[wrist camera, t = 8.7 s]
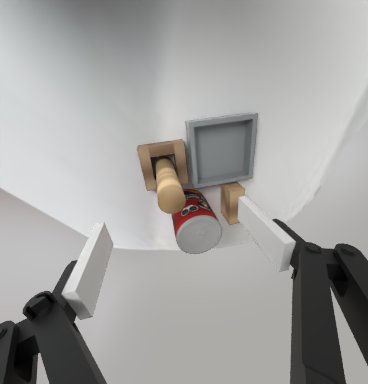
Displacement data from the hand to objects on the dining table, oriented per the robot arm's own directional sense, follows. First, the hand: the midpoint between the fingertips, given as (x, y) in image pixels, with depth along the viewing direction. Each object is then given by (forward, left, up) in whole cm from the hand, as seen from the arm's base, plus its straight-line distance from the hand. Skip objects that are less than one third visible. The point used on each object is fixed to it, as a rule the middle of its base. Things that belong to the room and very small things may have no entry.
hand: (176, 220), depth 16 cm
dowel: (0, 0, -18) cm, 18 cm away
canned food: (+10, +4, -19) cm, 21 cm away
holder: (0, 0, -18) cm, 18 cm away
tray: (-1, +11, -18) cm, 21 cm away
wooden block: (+10, +13, -18) cm, 24 cm away
